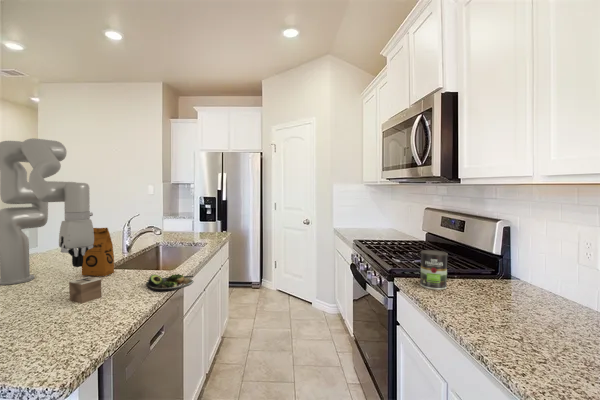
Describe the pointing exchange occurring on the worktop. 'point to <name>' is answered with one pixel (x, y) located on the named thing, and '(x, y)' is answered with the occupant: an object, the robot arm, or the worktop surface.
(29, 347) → the worktop surface
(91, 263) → the coffee package
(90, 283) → the letter block
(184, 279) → the salad plate
